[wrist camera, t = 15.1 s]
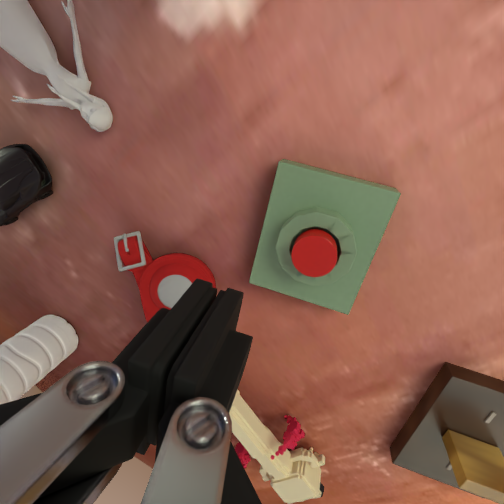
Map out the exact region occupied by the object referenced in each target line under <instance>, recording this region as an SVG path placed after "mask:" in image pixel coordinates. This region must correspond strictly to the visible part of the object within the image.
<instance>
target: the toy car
mask: <svg viewBox="0 0 504 504" xmlns="http://www.w3.org/2000/svg"><path fill="white" fill-rule="evenodd" d="M25 158H26V159H25ZM30 164H31V165H30ZM31 170H32V171H31ZM27 174H28V175H27ZM19 185H20V186H19ZM51 189H52V178H51V175H50V173H49V171H48V169H47V167H46V165H45V164H44V162H43V161H42V159H41V158H40V156H39V155H38V154H37V153H36V152H35V151H34V150H33V149H32V148H31V147H30V146H29V145H26V144H13V145H9V146H6V147H4V148H2V149H1V150H0V226H2V225H8V224H10V223H13V222H15V221H16V220H18V218H17V216H18V215H19V213H20V212H21V211H23V210H24V209H25V208H27V207H28V206H29V205H31V204H32V203H34V202H36V201H38V200H40V199H44V198H46V197H48V196H50V195H52V194H53V191H52V190H51Z"/></svg>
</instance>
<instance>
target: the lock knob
mask: <svg viewBox="0 0 504 504" xmlns="http://www.w3.org/2000/svg"><path fill="white" fill-rule="evenodd" d="M442 440H443V443H444V446H445V448H446V451H447V454H448V457H449V460H450V463H451V466H452V469H453V472H454V475H455V478H456V481H457V483H458V486H459V488H460V489H463V490H466V491H468V492H471V493H473V494H476V495H479V496H481V497H484V498H486V499H489V500H491V501H494V502H497V503H499V504H504V457H503V455H502V453H501V451H500V449H499V448H498V447H495V446H492V445H490V444H487V443H484V442H481V441H479V440H476V439H473V438H470V437H468V436H465V435H462V434H459V433H457V432H454V431H451V430H447V431H446V433H445V434H444V435H443V437H442Z"/></svg>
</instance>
